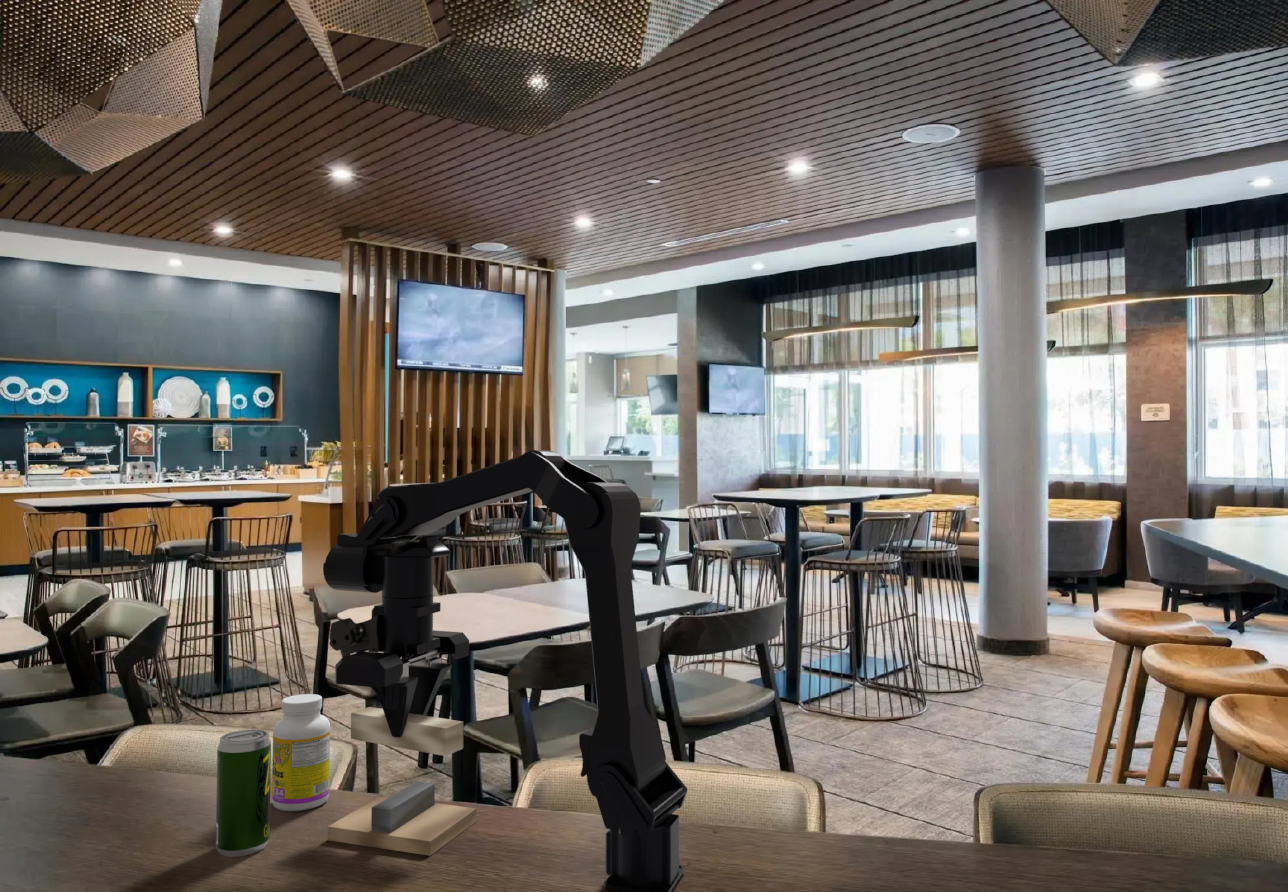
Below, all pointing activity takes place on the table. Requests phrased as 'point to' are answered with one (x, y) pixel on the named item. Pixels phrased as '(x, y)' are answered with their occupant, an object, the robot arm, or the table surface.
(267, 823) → the beer can
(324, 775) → the supplement bottle
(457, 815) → the balance board
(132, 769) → the table surface
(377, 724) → the rod
